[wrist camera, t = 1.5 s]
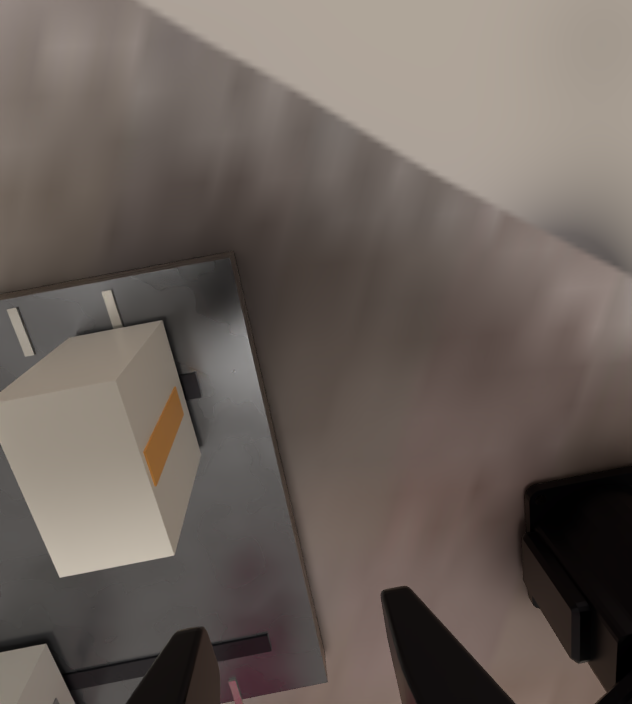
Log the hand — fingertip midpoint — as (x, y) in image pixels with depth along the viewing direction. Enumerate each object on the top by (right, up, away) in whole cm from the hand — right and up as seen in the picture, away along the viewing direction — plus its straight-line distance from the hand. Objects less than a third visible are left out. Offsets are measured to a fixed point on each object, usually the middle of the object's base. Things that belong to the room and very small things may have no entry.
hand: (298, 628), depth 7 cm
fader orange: (-6, +2, +10) cm, 11 cm away
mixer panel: (-9, -3, +13) cm, 16 cm away
